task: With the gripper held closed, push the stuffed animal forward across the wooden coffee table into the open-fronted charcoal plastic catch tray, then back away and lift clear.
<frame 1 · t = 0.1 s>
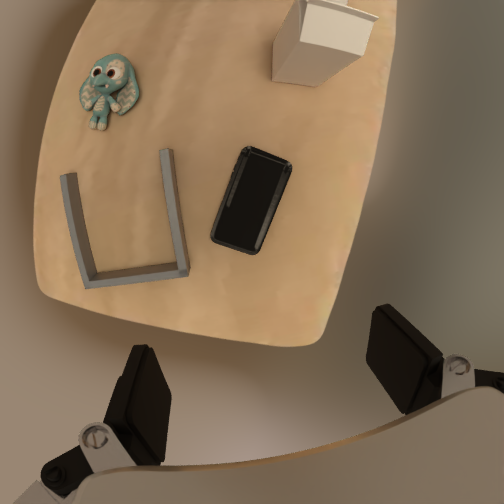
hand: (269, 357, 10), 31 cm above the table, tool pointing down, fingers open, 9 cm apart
phone: (249, 200, 40), on the table
stuffed animal: (112, 95, 32), on the table
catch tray: (126, 219, 38), on the table
milk carton: (294, 65, 34), on the table
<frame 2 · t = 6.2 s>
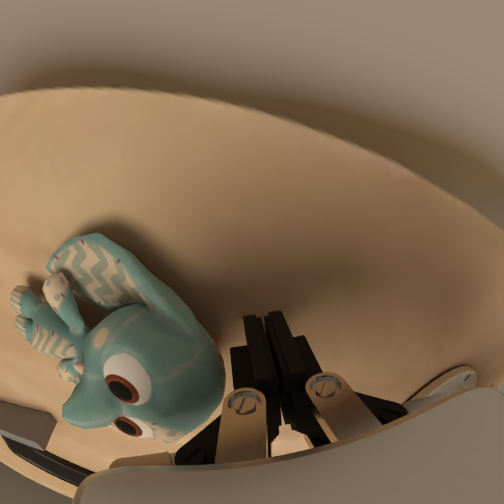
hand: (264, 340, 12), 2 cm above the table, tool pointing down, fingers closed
phone: (52, 459, 18), on the table
stuffed animal: (114, 321, 13), on the table, touching gripper
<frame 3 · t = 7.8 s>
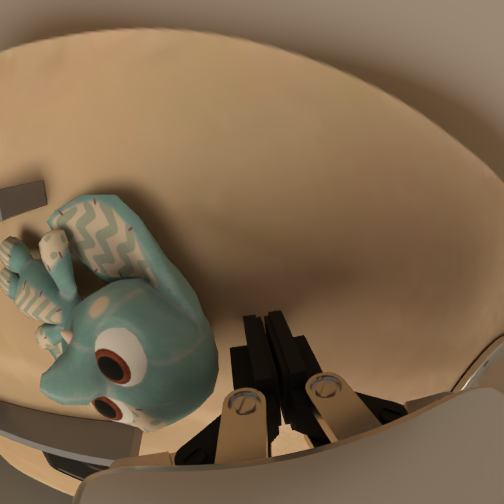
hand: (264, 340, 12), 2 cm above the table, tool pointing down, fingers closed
phone: (107, 472, 18), on the table
stuffed animal: (105, 294, 12), on the table, touching gripper
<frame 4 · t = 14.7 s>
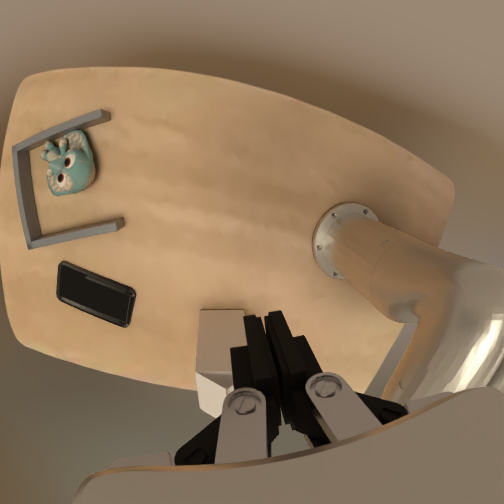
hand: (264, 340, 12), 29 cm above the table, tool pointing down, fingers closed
phone: (95, 292, 40), on the table
stuffed animal: (72, 163, 34), on the table
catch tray: (67, 182, 34), on the table
milk carton: (222, 326, 45), on the table
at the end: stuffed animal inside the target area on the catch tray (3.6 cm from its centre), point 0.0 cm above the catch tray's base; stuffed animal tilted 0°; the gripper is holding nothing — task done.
